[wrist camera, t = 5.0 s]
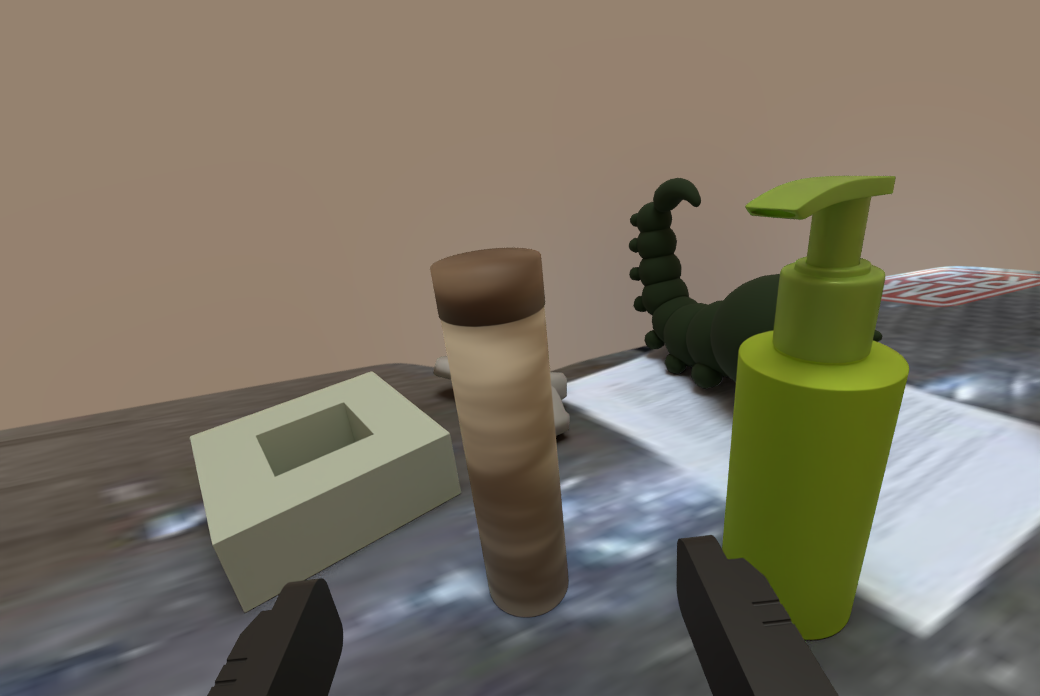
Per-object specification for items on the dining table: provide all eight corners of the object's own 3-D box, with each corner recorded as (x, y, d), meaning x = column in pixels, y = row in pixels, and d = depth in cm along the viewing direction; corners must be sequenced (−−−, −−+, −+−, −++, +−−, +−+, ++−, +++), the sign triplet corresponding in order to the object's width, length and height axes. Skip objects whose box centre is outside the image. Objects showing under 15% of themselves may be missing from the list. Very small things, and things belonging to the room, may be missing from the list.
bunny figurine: (493, 428, 34) (418, 345, 45) (498, 481, 37) (425, 390, 48) (598, 386, 38) (505, 319, 49) (596, 436, 41) (508, 361, 52)
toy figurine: (614, 365, 54) (817, 474, 31) (600, 188, 48) (837, 164, 25) (684, 345, 56) (917, 433, 34) (679, 176, 51) (957, 144, 28)
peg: (521, 635, 24) (467, 282, 17) (472, 578, 27) (411, 265, 20) (586, 583, 26) (564, 254, 19) (534, 537, 29) (499, 244, 22)
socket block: (244, 612, 27) (212, 545, 25) (214, 490, 37) (189, 436, 35) (461, 493, 34) (449, 433, 32) (384, 419, 44) (372, 371, 43)
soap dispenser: (681, 582, 26) (697, 188, 18) (768, 526, 28) (815, 166, 20) (785, 678, 21) (871, 195, 13) (876, 599, 23) (993, 164, 16)
